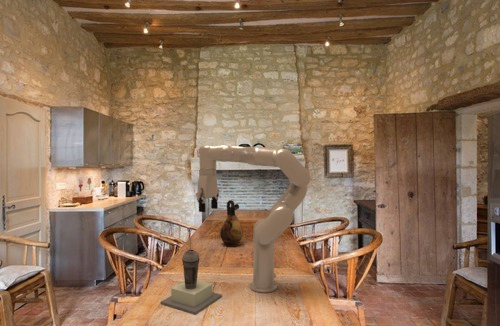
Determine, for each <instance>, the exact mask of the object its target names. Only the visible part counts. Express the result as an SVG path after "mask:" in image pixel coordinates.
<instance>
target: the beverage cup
mask: <svg viewBox="0 0 500 326" xmlns="http://www.w3.org/2000/svg"><path fill="white" fill-rule="evenodd" d="M200 260H201V259H200V255H199V253H198V252H197V251H196V250H194V249H192V239H191V238H189V249H188V250H186V251H185V252H184V253H183V254H182V259H181V262H182V266H183V277H184V279H183V280H184V282H185V288H186V289H194V288H196V284H197V281H198V271H199V265H200Z"/></svg>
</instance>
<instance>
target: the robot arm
mask: <svg viewBox="0 0 500 326" xmlns="http://www.w3.org/2000/svg"><path fill="white" fill-rule="evenodd" d="M198 153H199V154H198V155H199V176H198V180H197V192H196V193H195V197H196V201H197V204H198V212H199V213H206V200H207V199H211V200H210V208H211V209H214V210H217V209H218V208H219V207H218V200H219V196H220V191H221V190H220V189H219V188H218V180H217V179H218V178H217V162H232V163H240V164H241V163H243V164H248V165H252V166H261V167H272V168H279V169H280V170H281V171H282V173H283V174H284V175H285V176H286V177H287V178H288V181H289V186H288V187H287V190H286V191H285V192H284V194H283V195H282V196H280V198H279V199H278V200H277V201H276V202H275V203H274V204H273V205H272V206H271V207H270V210H269V215H268V216H266V218H260V219H258V220H256V222H255V223H254V225H253V230H252V233H253V240H252V241H253V259H252V260H253V262H252V263H253V265H252V266H253V267H252V268H253V269H252V270H253V272H252V273H253V275H252V277H253V279H252V281H251V282H250V283H249V288H250V290H252V291H253V292H257V293H266V294H267V293H272V292H274V291H276V290H277V289H278V284H277V283H276V282H275V278H276V277H277V273H275V242H276V241H277V240H278V238H279V237H281V235H282V234H283V233H284V232H285V231H286V230H287V229H288V228H289V226H290V225H291V224H292V222H293V219H294V211H295V210H296V209H297V208H298V207H299V206H300V205H301V204H302V203H303V201H304V199H305V197H306V195H307V191H308V185H309V184H310V181H311V174H310V171H309V170H308V169H307V168H306V167H305V166H304V165H303V164H302V163H301V161H299V160H298V158H297V157H296V156H295V155H294V153H292V152H291V151H290V150H289V149H286V148H278V147H277V148H275V147H265V146H264V147H262V146H234V145H226V144H221V145H200V146H199V152H198Z"/></svg>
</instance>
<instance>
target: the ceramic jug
mask: <svg viewBox="0 0 500 326" xmlns="http://www.w3.org/2000/svg"><path fill="white" fill-rule="evenodd" d="M239 209H240V206H239V203H236V204H235V201H234V200H232V199H229V200H228V201H227V202H226V215H227V217H226V218H225V220H224V222H222V225H221V227H220V231H219V235H220V236H219V237H220V239H221V241H222V243H223V246H225V247H226V248H228V247H230V248H234V247H237V246H238V244H239V243H240V242H241V240H242V239H243V234H244V233H243V232H244V231H243V226H242V224H241V221H240V220H239V218H238V216H237V214H236V211H237V210H239Z"/></svg>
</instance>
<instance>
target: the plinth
mask: <svg viewBox="0 0 500 326" xmlns="http://www.w3.org/2000/svg"><path fill="white" fill-rule="evenodd" d="M170 291H171V295H170V296H168V297H166V298H165V299H162V300H161V301H160V305H163V306H166V307H170V308H172V309H176V310H179V311H182V312H185V313H188V314H192V315H197V314H199V313H200V312H203V310H205V309H206V308H208V307H209V306H211V305H212V304H214V303H215V302H217V301H219V300H220V299H221V298H222V297H223V294H221V293H217V292H214V291H213V284H212V283H209V282H206V281H205V282H204V281H200V280H197V284H196V288H194V289H186V288H185V281H183V282H181V283H179V284H177V285H174V286H173V287H171V289H170Z"/></svg>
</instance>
